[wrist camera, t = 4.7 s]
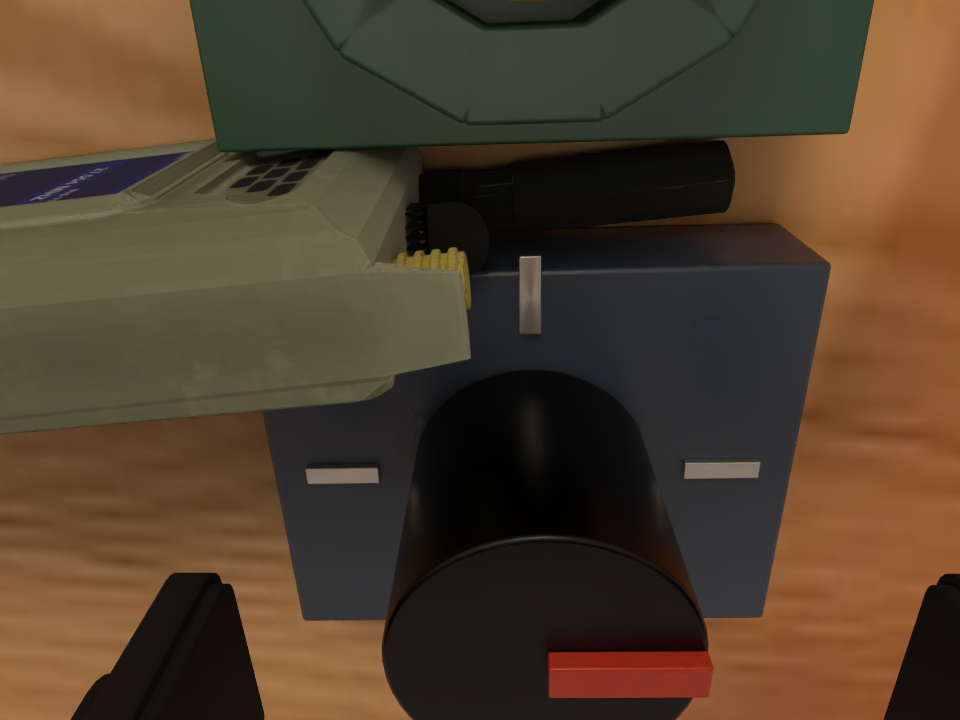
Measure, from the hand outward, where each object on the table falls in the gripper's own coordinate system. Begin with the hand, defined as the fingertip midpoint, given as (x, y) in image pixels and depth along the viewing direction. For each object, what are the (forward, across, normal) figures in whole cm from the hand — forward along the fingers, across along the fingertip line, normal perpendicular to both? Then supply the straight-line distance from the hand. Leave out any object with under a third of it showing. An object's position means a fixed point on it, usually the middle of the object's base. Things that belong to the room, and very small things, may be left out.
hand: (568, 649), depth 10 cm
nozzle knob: (+4, 0, 0) cm, 4 cm away
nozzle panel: (+7, 0, 0) cm, 7 cm away
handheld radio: (+7, +9, -4) cm, 13 cm away
